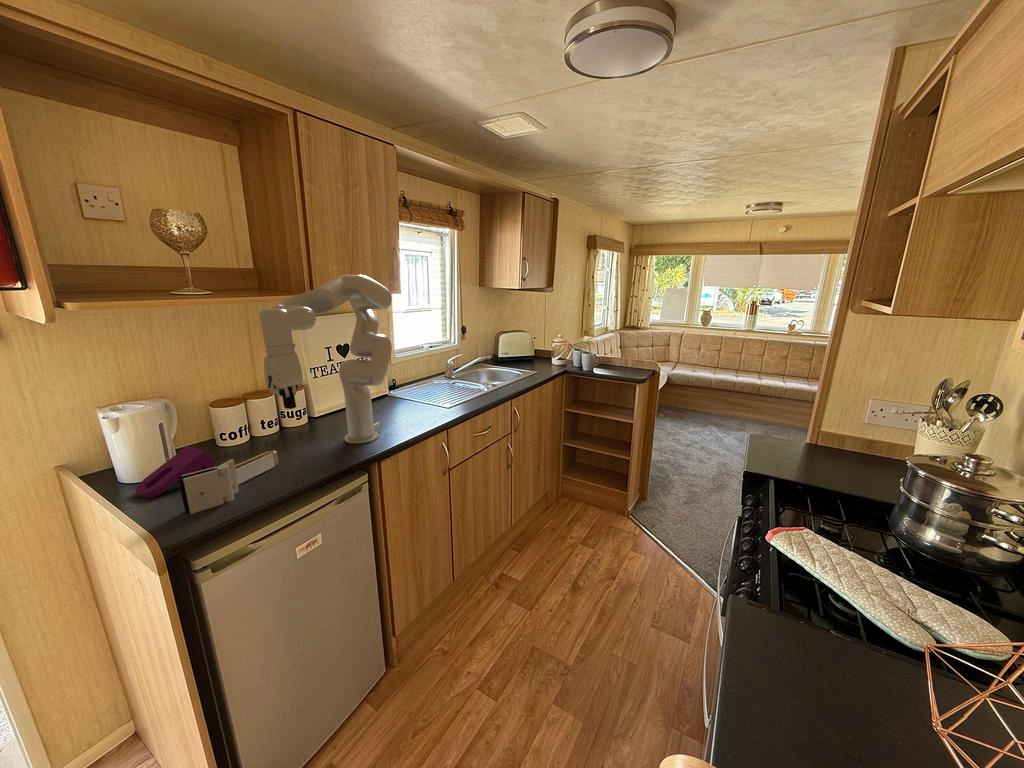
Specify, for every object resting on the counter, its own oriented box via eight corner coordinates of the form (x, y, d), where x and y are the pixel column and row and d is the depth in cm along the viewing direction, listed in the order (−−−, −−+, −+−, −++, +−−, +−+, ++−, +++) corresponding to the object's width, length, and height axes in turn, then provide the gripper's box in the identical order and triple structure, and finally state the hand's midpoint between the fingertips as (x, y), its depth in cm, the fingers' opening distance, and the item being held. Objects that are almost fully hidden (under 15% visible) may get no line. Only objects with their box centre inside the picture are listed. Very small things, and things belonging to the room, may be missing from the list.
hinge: (237, 490, 121) (232, 458, 119) (247, 495, 119) (242, 462, 116) (182, 511, 110) (175, 477, 107) (191, 517, 107) (184, 482, 105)
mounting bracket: (167, 515, 119) (221, 468, 132) (146, 497, 114) (204, 450, 127) (150, 508, 123) (204, 463, 135) (129, 490, 118) (187, 445, 130)
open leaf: (271, 466, 137) (270, 453, 136) (274, 466, 136) (272, 453, 135) (230, 486, 123) (227, 472, 122) (233, 487, 122) (231, 473, 121)
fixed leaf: (273, 462, 140) (271, 449, 139) (280, 463, 139) (278, 450, 138) (223, 486, 124) (220, 471, 123) (230, 487, 123) (228, 472, 122)
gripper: (291, 345, 131) (300, 399, 136) (248, 354, 117) (260, 414, 122) (309, 346, 129) (318, 401, 134) (267, 355, 115) (279, 417, 120)
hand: (290, 407), depth 128 cm, fingers closed
